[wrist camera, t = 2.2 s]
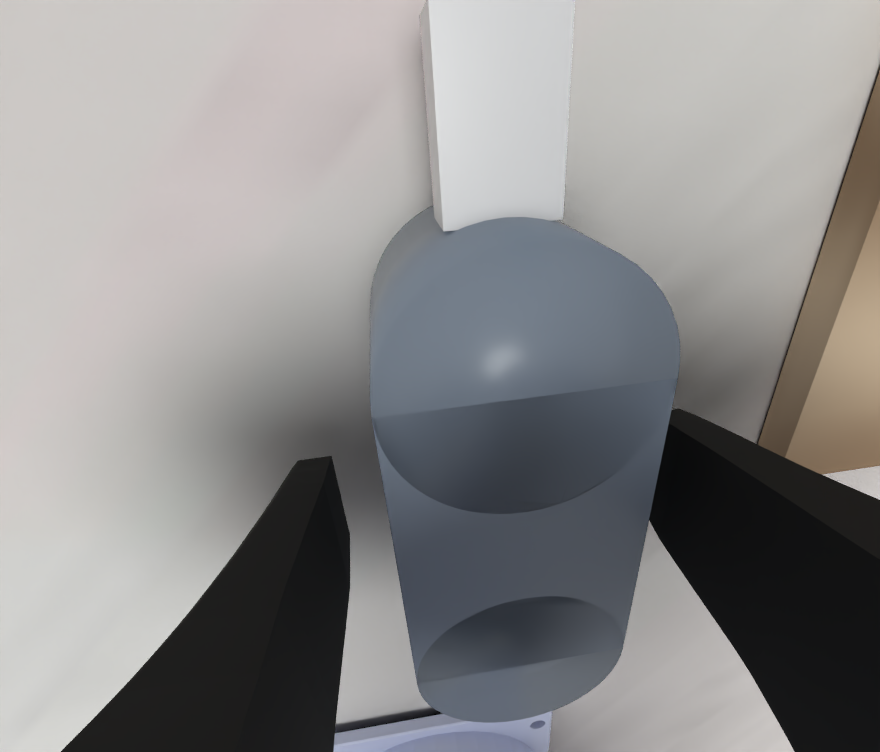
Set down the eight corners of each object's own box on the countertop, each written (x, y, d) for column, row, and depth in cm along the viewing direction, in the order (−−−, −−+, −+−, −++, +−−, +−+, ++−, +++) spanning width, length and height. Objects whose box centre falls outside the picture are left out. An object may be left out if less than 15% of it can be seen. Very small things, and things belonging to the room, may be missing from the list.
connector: (555, 566, 13) (611, 702, 10) (413, 589, 13) (426, 737, 10) (595, 20, 7) (766, -57, 4) (329, 38, 7) (294, -31, 4)
